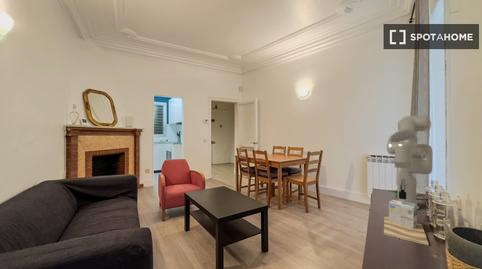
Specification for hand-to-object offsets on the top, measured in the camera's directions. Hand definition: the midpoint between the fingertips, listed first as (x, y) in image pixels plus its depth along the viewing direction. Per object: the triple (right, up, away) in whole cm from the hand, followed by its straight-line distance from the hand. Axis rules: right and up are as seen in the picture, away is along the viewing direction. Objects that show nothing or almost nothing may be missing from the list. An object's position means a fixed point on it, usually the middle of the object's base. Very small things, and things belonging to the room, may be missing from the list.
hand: (402, 198), depth 116 cm
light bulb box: (-4, -11, -6) cm, 14 cm away
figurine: (+24, -11, +36) cm, 44 cm away
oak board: (-8, -12, -11) cm, 18 cm away
